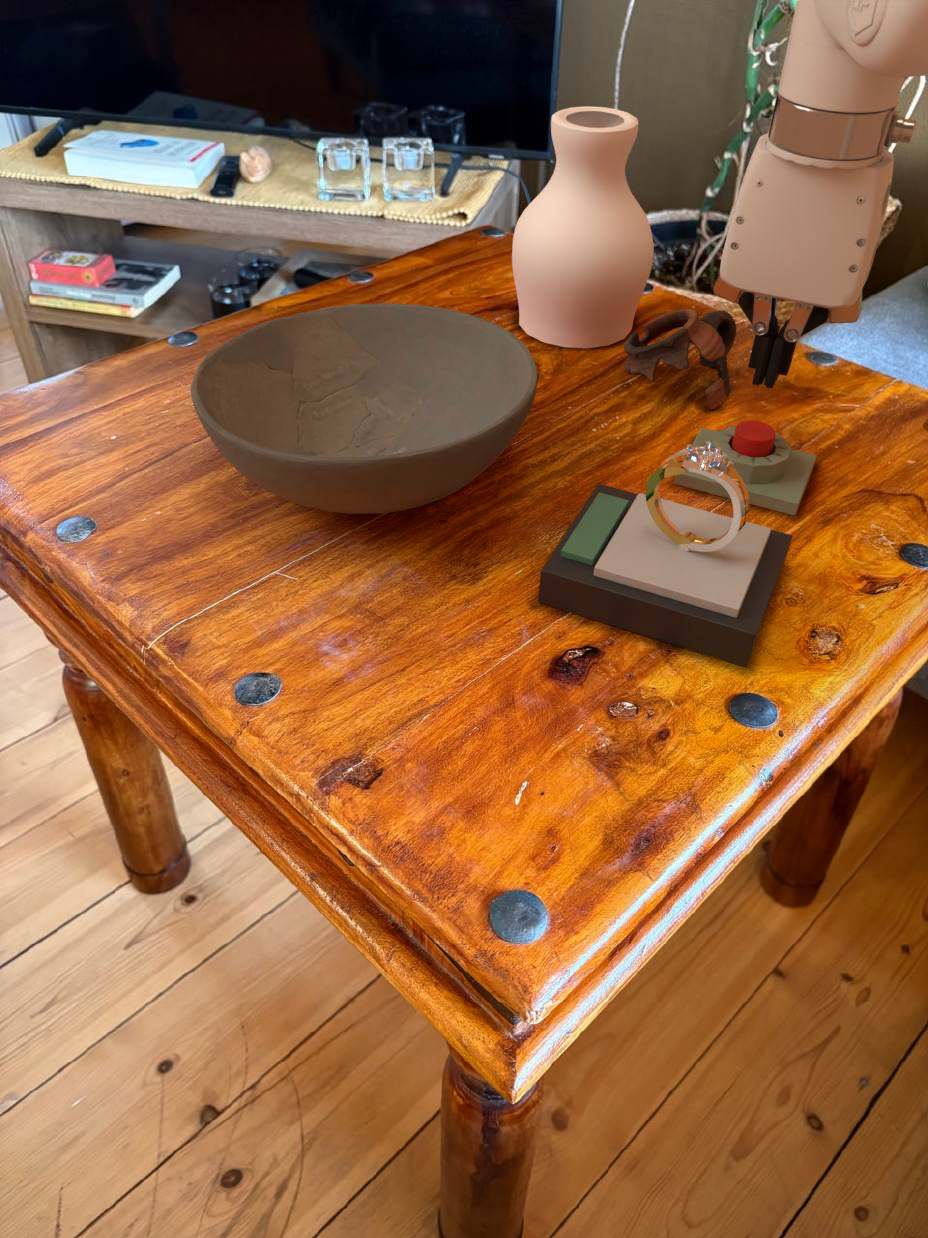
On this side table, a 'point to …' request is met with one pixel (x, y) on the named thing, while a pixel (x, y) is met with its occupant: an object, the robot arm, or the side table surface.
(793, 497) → the grey button housing
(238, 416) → the bowl
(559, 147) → the vase
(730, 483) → the ring
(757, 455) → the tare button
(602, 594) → the scale
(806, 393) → the side table surface
